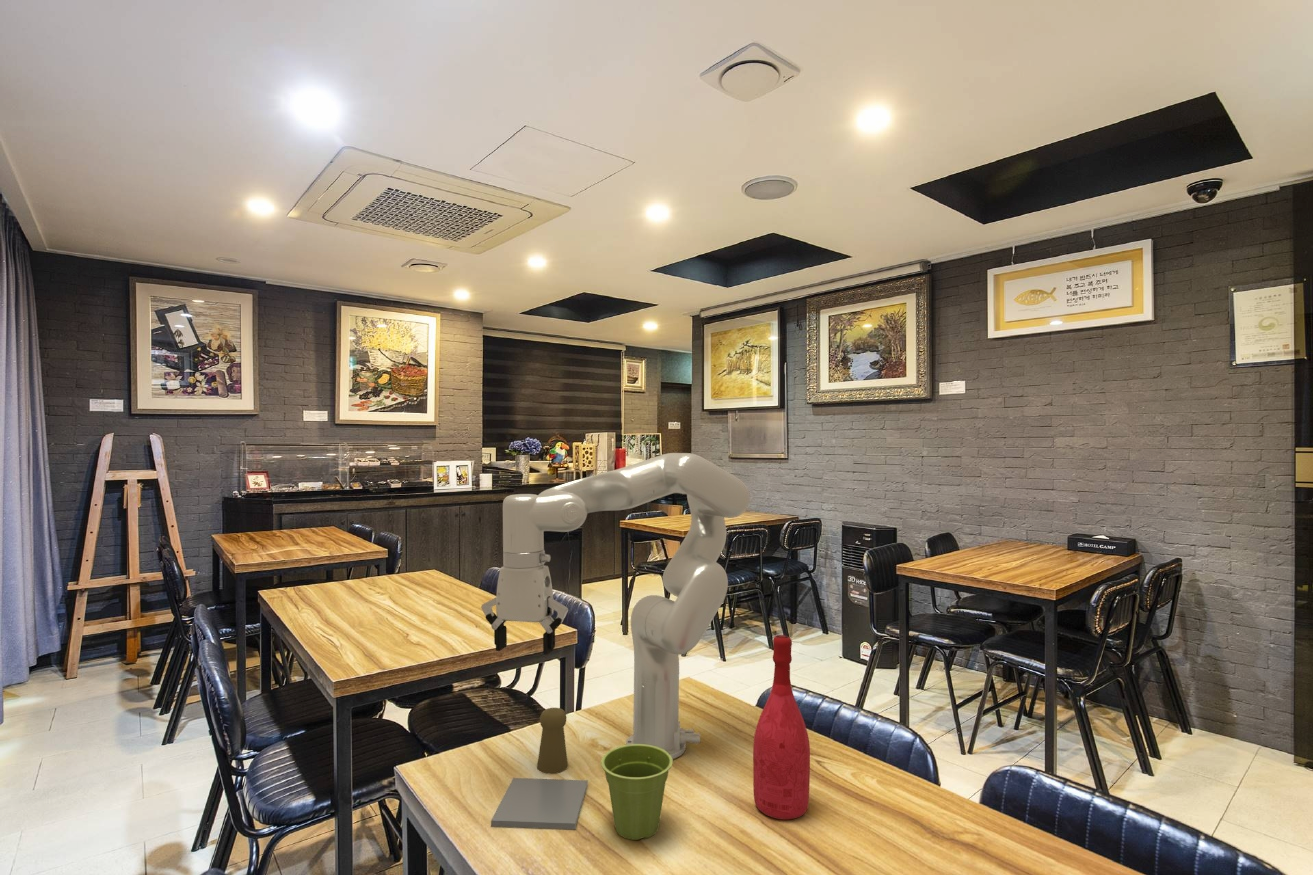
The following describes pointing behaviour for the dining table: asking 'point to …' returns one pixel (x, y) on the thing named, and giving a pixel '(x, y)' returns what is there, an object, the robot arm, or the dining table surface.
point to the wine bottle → (781, 746)
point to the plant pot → (636, 787)
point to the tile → (541, 804)
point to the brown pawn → (552, 742)
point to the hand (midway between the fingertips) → (524, 650)
